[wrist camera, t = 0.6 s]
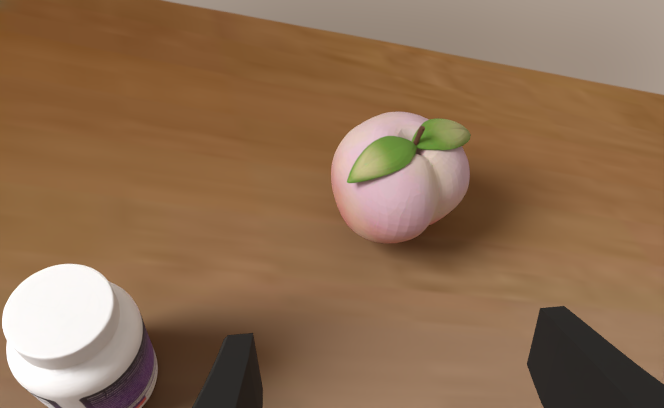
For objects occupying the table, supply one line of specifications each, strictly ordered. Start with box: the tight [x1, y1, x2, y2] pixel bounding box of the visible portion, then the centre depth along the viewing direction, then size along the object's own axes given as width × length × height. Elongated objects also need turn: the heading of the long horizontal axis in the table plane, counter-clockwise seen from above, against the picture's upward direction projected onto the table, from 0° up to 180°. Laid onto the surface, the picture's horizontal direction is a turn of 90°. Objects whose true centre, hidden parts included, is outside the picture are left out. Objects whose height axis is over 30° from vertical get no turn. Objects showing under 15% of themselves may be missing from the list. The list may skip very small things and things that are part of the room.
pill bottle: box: [2, 264, 158, 408], centre depth 23 cm, size 5×5×10 cm
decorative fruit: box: [331, 112, 471, 244], centre depth 32 cm, size 9×8×10 cm
